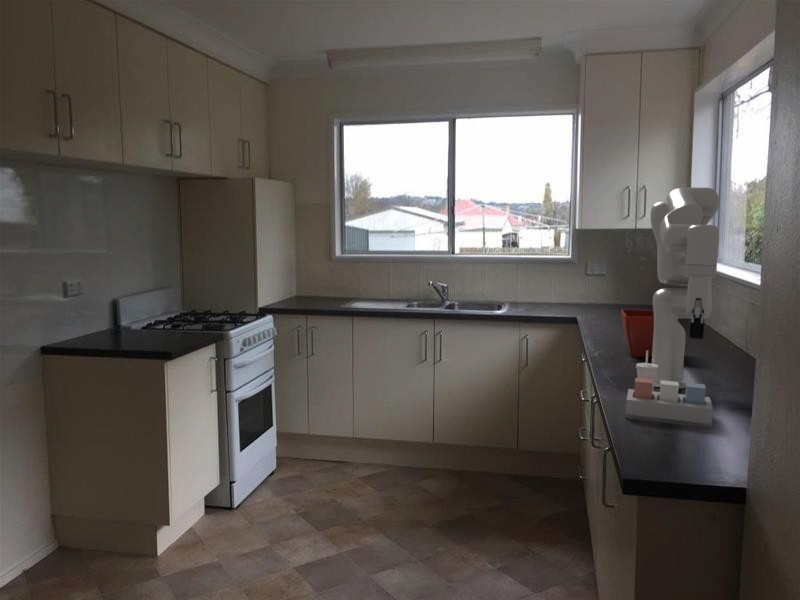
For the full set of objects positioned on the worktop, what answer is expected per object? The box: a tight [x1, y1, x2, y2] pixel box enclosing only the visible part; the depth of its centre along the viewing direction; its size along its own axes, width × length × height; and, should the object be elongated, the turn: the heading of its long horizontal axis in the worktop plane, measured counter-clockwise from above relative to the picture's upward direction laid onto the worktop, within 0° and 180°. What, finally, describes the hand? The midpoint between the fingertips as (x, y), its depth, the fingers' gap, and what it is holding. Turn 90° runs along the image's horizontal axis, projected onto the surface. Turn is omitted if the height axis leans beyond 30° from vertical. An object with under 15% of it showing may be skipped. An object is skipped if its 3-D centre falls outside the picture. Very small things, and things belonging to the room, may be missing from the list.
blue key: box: [684, 382, 707, 405], centre depth 172 cm, size 4×4×4 cm
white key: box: [659, 380, 680, 402], centre depth 175 cm, size 4×4×4 cm
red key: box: [634, 377, 653, 399], centre depth 177 cm, size 4×4×4 cm
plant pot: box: [620, 308, 679, 358], centre depth 256 cm, size 19×19×17 cm
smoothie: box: [635, 351, 658, 391], centre depth 195 cm, size 6×6×14 cm
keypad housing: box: [625, 388, 714, 429], centre depth 175 cm, size 12×21×5 cm, turn 68°
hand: (696, 336), depth 171 cm, fingers open, 9 cm apart
